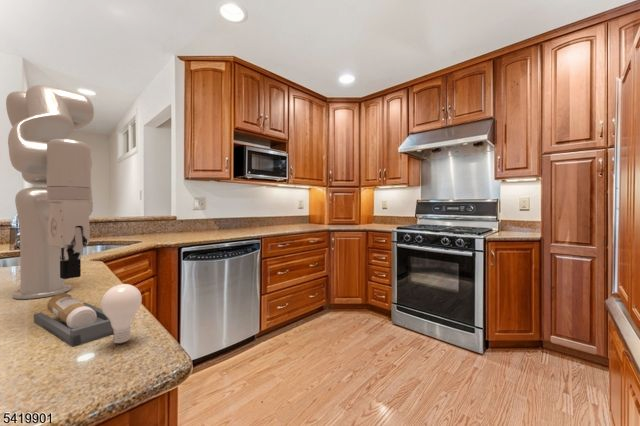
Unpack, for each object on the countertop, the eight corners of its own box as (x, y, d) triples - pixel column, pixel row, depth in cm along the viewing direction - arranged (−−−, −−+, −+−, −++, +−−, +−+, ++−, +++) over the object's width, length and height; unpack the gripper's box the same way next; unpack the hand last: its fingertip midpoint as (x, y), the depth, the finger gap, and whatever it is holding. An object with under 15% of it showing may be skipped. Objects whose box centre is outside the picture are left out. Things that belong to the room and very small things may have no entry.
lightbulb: (121, 352, 51) (121, 289, 51) (91, 349, 52) (91, 288, 52) (149, 337, 57) (149, 281, 57) (122, 334, 58) (122, 279, 58)
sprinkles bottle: (43, 313, 63) (66, 333, 56) (50, 292, 64) (74, 309, 57) (69, 312, 67) (93, 330, 60) (75, 292, 68) (100, 308, 61)
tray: (33, 321, 65) (33, 309, 65) (85, 309, 73) (85, 298, 73) (72, 346, 53) (72, 331, 53) (128, 328, 61) (128, 315, 61)
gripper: (36, 196, 66) (37, 276, 66) (60, 194, 58) (61, 285, 58) (77, 197, 72) (77, 271, 73) (104, 195, 64) (104, 278, 65)
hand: (70, 277), depth 65 cm, fingers closed
